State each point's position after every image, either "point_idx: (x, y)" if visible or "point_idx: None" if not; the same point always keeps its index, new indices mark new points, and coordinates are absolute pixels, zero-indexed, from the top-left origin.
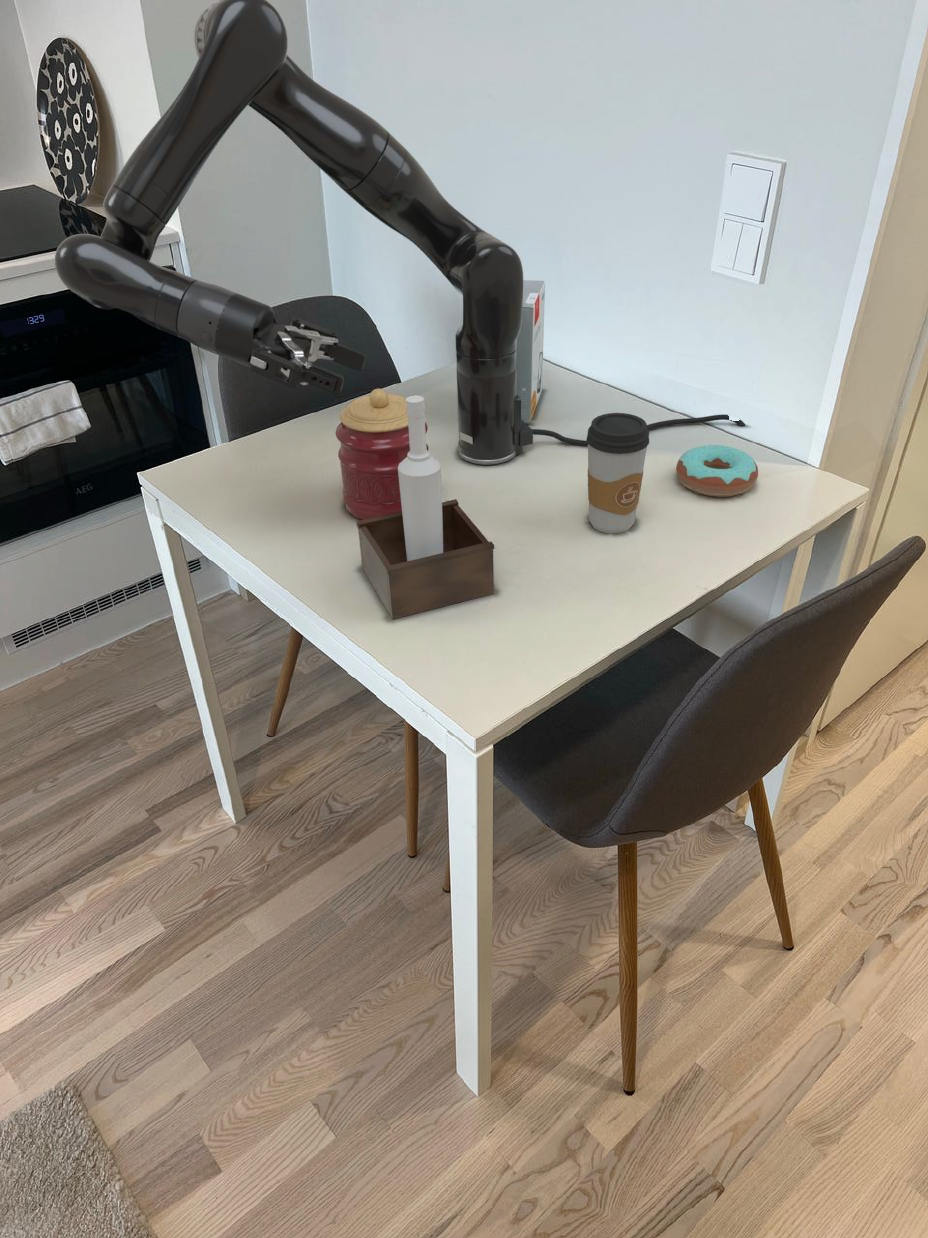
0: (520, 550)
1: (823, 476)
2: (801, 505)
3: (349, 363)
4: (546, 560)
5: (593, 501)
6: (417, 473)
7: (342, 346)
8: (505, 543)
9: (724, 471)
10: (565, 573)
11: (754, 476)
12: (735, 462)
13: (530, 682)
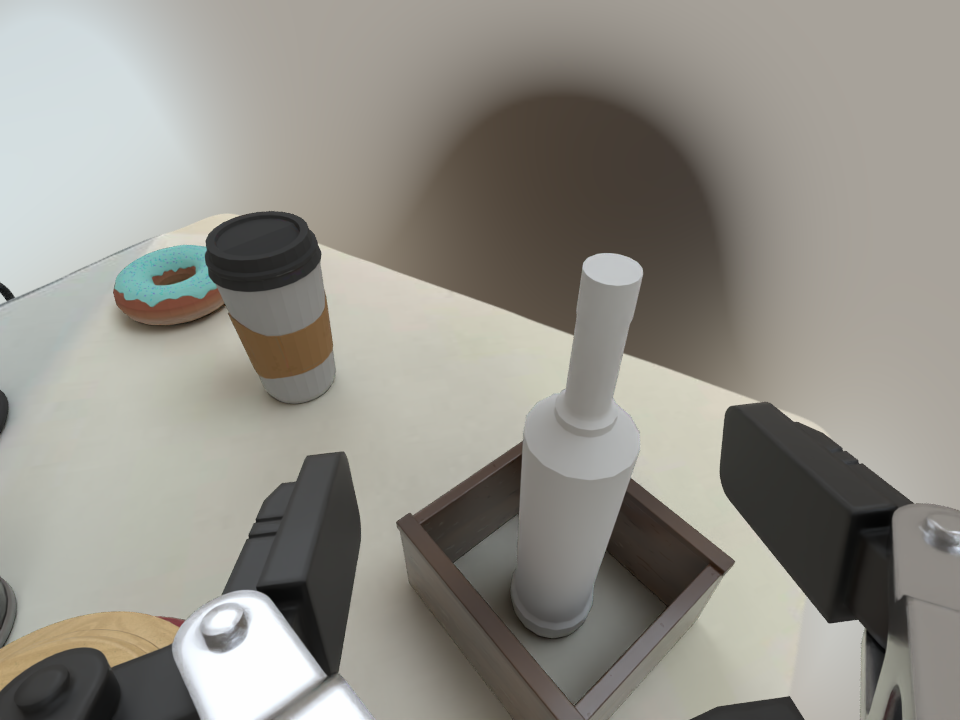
0: (402, 475)
1: (184, 229)
2: None
3: (347, 566)
4: (426, 436)
5: (315, 360)
6: (630, 418)
7: (309, 547)
8: (382, 502)
9: None
10: (456, 408)
11: None
12: (177, 259)
13: (711, 399)
